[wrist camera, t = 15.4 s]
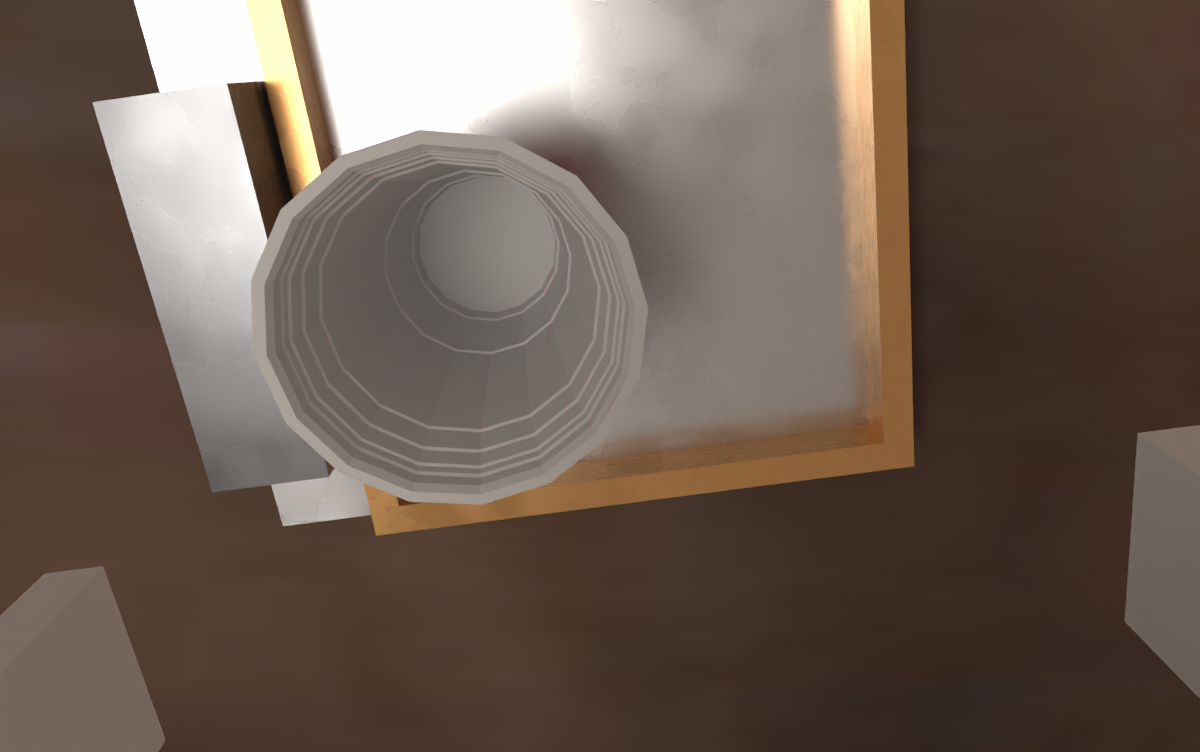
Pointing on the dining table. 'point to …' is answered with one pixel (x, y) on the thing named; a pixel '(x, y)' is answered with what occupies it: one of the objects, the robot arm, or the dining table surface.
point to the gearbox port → (613, 176)
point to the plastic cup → (448, 317)
